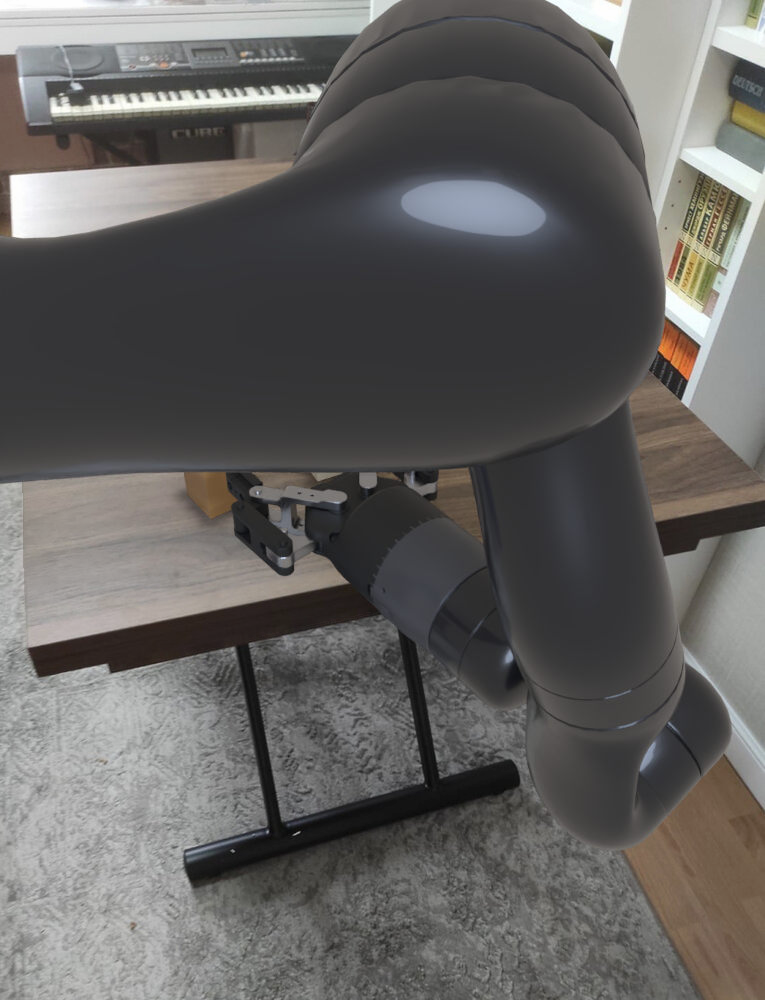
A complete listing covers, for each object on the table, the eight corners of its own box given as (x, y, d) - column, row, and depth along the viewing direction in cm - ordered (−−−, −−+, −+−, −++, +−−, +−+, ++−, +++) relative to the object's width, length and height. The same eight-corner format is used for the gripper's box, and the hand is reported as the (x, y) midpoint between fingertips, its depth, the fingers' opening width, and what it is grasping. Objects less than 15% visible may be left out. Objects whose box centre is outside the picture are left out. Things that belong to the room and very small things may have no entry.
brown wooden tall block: (210, 519, 75) (199, 437, 69) (186, 494, 77) (173, 413, 71) (252, 500, 77) (245, 419, 71) (228, 476, 79) (218, 396, 73)
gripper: (507, 481, 54) (356, 376, 64) (330, 577, 47) (190, 443, 57) (495, 564, 59) (356, 455, 69) (332, 662, 52) (203, 525, 62)
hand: (281, 449), depth 63 cm, fingers open, 8 cm apart
